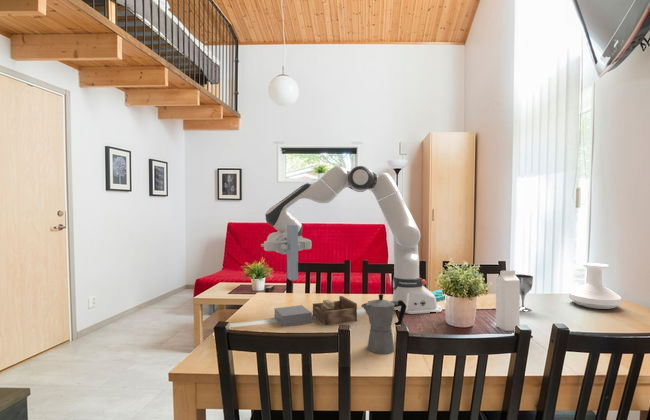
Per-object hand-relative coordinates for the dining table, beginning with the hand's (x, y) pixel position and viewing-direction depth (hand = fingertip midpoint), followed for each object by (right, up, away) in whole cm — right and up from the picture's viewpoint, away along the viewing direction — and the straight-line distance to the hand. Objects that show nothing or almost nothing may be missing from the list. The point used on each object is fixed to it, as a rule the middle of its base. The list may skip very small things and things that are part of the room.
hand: (293, 247), depth 152 cm
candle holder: (+138, -30, +22) cm, 143 cm away
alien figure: (+75, -30, +38) cm, 90 cm away
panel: (0, -13, +1) cm, 13 cm away
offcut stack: (+14, -30, +3) cm, 33 cm away
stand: (0, -30, +1) cm, 30 cm away
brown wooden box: (+17, -30, +4) cm, 35 cm away
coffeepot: (+32, -31, -29) cm, 53 cm away
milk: (+83, -30, -9) cm, 88 cm away
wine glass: (+102, -30, +17) cm, 108 cm away
